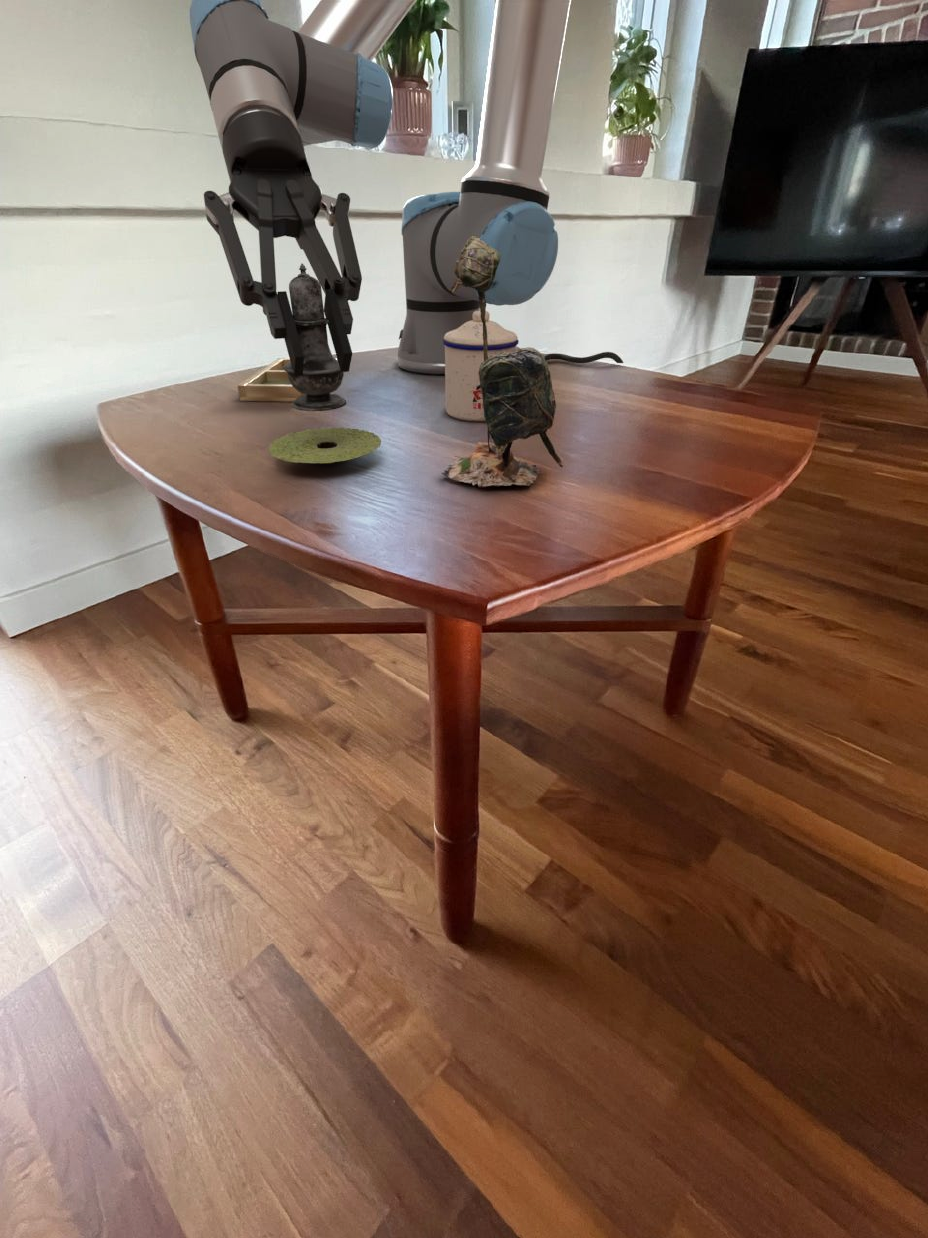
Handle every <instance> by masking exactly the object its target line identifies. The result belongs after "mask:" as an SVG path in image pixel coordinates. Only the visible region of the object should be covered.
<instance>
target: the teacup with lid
mask: <svg viewBox="0 0 928 1238" xmlns="http://www.w3.org/2000/svg"><path fill="white" fill-rule="evenodd" d="M490 316H491V315H490V312H489V311H488V310H486V313H485V320H486V327H487V341H488V347H487V348H488V350H487V354H488V358H489V357H490V356H491V355H492V356H495V355H497V354H499V353H501V352H508V351H510V350H516V349H521V347H519V346H517V345H519V341H520V340H519V339H518V338H519V337H518V335H517V334H516V333H515V332H514V331H511V330H508V329H506V328H504V327H503V326H502V325H500V324H499V323H498V322H497V321H494V320H490ZM443 344H444V345H445V374H444V377H445V378H444V381H445V411H446V414H447V415H449V416H450V417H451V418H455V419H456V420H461V421H467V422H485V418H484V409H483V398H482V391H481V385H480V380H479V374H478V373H479V368H480V366H481V363H483V362H484V353H483V323H482V320H481V312H480V311H475V312H474V313H473V320H472V321H468V322H466V323H464V324H463V325H461V326H460V327H459V328H457V329H455V330H453V331H449V332H447V333H446V334H445V336H444V340H443Z"/></svg>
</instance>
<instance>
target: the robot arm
mask: <svg viewBox="0 0 928 1238" xmlns="http://www.w3.org/2000/svg"><path fill="white" fill-rule="evenodd" d="M417 1H418V0H319V2H318V3H317V5H316V6H315V8H314V9H313V10H312V11H311V13H310V14H309V16H308V17H307V19H306V20H304V23H303V24H302V25H301V27H300V28H299V30H298V31H295V30H293V29H291V28H290V27H288V26H285V25H282V24H280V23H277V22H274V21H272V20H269V16H268V13H267V10H266V9H264V7H263V4H262V2H261V1H260V0H191V3H190V7H189V24H190V29H191V31H190V32H191V37H192V43H193V51H194V56H195V59H196V62H197V64H198V67H199V68H200V69H199V70H200V72H201V75H202V79H203V83H204V86H205V89H206V94H207V97H208V100H209V105H210V108H211V112H212V116H213V120H214V123H215V124H214V125H215V127H216V132H217V135H218V140H219V144H220V147H221V150H222V154H223V159H224V163H225V166H226V167H225V168H226V170H227V174H228V178H229V185H228V191H227V192H225V193H223V194H220V195H218V193H216V192H215V191H213V190H206V191H205V192H204V193H203V200H204V208H205V216H206V217H205V218H206V221H207V222H208V224H209V225H210V226H211V227H212V228H213V230H214V231H215V232H216V233H217V235H218V236H219V240H220V243H221V245H222V248H223V252H224V255H225V258H226V261H227V264H228V266H229V269H230V273H231V276H232V279H233V282H234V286H235V289H236V291H237V294H238V297H239V299H240V302H241V303H242V304H243V305H244V306H246V307H251V306H253V305H257V306H260V307H261V308H262V313H263V314H264V315H265V316H266V320H267V324H268V327H269V332H270V334H271V336H272V337H273V338H274V340H278V339H279V340H280V339H284V342H285V346H286V350H287V354H288V358H290V362H291V365H292V369H293V373H294V376H302V375H303V365H304V355H303V351H302V348H301V344H300V340H299V337H298V333H297V329H296V326H295V322H294V318H293V314H292V307H291V303H290V300H289V297H288V293H287V291H285V290H283V291H278V290H277V274H276V256H275V240H274V239H277V238H282V237H289V238H294V239H295V241H296V243H297V245H298V247H299V249H300V251H301V250H302V251H303V252H304V255H305V257H306V258H307V261H308V262H309V265H310V267H311V269H312V271H313V273H314V275H315V277H316V280H318V282H319V283H320V285H321V290H322V291H323V293H324V302H323V309H324V318H326V319H328V320H329V323H328V324H327V327H328V328H327V329H328V332H329V334H330V337H331V342H332V346H333V349H334V352H335V357H336V359H338V363H339V367H340V370H341V372H343V373H346V372H348V373H349V372H350V368H351V362H352V358H353V350H352V346H351V343H350V340H349V336H348V335H352V329H353V324H354V317H353V314H352V310H351V307H350V305H349V304H350V303H349V301H351V302H357V301H358V300H359V298H360V292H361V287H362V281H363V275H362V272H361V268H360V264H359V262H360V261H359V258H358V254H357V249H356V245H355V240H354V237H353V232H352V228H351V223H350V219H349V213H350V204H351V197H350V195H348V194H347V193H345V192H339V193H338V194H337V196H336V197H333V196H330V195H327V194H324V193H323V191H322V189H321V186H320V185H319V184H318V183H317V182H316V181H315V180H314V178H313V174H312V170H311V168H310V163H309V160H308V157H307V153H306V150H305V146H310V145H318V144H324V143H329V142H335V141H338V142H343V143H346V144H349V145H350V146H351V147H354V148H355V147H361V148H365V149H370V150H371V149H376V148H377V147H379V146H380V145H381V144H382V143H383V141H384V140H385V138H386V136H387V134H388V132H389V129H390V125H391V121H392V117H393V104H394V93H393V92H394V91H393V85H392V81H391V79H390V75H389V74H388V71H387V70H386V69H385V68H384V67H383V66H382V65H381V64H378V63H377V62H374V59H375V57H376V56H377V55H378V53H379V52H380V51H381V49H383V47H384V46H385V44H386V42H387V41H388V40H389V38H390V37H391V36H392V34H393V33H394V32H395V31H396V29H397V28H398V27H399V25H400V24H401V23H402V21H403V19H404V18H405V17H406V16H407V14H408V13H409V12H410V10H411V9H412V8H413V6H414V5H415V3H416V2H417ZM571 2H572V0H496V1H495V8H494V15H493V16H494V17H493V23H492V32H491V39H490V40H491V41H490V48H489V56H488V65H487V72H486V81H485V88H484V96H483V103H482V111H481V120H480V127H479V134H478V143H477V151H476V159H475V164H474V167H473V168H472V169H471V170H470V171H469V172H468V173H467V174H466V175H465V176H463V177H462V179H461V185H460V191H445V192H444V191H443V192H436V193H429V194H423V195H422V194H421V195H419V196H415V197H412V198H410V199H408V200H407V201H406V202H405V203H404V205H403V208H402V215H401V217H402V218H401V229H400V230H401V236H402V248H403V250H402V251H403V267H404V286H405V304H406V305H405V306H406V307H405V308H406V315H405V320H404V324H403V328H402V329H401V330H400V331H399V336H398V340H399V345H398V349H397V366H398V367H399V368H401V369H402V370H403V371H404V370H405V371H407V372H411V373H417V374H425V375H445V345H444V344H443V340H444V336H445V334H446V333H447V332H449V331H453V330H455V329H457V328H459V327H460V326H461V325H463V324H464V323H466V322H468V321H472V320H473V313H474V312H475V311H480V306H479V295H478V291H477V290H476V289H474V288H471V287H465V286H464V285H460V286H458V288H457V290H456V291H455V292H451V291H450V289H451V287H452V286H453V285H454V282H455V280H456V274H455V269H454V267H456V261H457V260H458V258H460V256H461V252H462V250H463V248H464V245H465V244H466V243H467V240H468V239H469V238H471V237H472V236H477V237H479V239H480V240H482V241H483V242H484V243H485V244H487V245H490V246H491V247H492V248H493V249H494V250H497V252H498V253H499V255H500V262H499V265H498V268H497V270H496V274H495V278H494V280H493V282H492V285H491V287H490V289H489V290H488V291H485V300H486V305H487V304H488V305H492V306H496V307H497V306H515V305H516V306H517V305H522V304H524V303H526V302H528V301H530V300H531V299H533V297H535V295H536V294H538V293H539V292H540V291H541V290H543V288H544V287H545V285H546V284H547V282H548V281H549V279H550V277H551V275H552V273H553V271H554V269H555V265H556V263H557V257H558V253H559V251H558V250H559V235H558V231H557V230H555V226H556V223H555V221H554V219H553V217H552V215H551V214H550V212H549V211H548V207H549V202H550V194H551V193H550V191H549V189H548V187H547V186H546V184H545V183H544V181H543V178H542V177H543V176H542V174H543V173H542V172H543V169H544V168H543V167H544V163H545V156H546V150H547V143H548V139H549V132H550V128H551V127H550V126H551V120H552V115H553V108H554V102H555V95H556V90H557V85H558V79H559V73H560V67H561V60H562V55H563V49H564V43H565V37H566V31H567V25H568V19H569V14H570V7H571ZM320 211H322V213H324V215H325V219H326V221H327V223H328V226H329V227H331V228H332V238H333V242H334V243H333V244H334V248H335V251H336V256H337V261H338V265H339V269H340V271H339V269H338V267H337V265H336V263H335V261H334V259H333V257H332V255H331V253H330V251H329V249H328V246H327V245H326V243H325V241H324V239H323V238H322V237H323V236H322V235H321V233H320V231H319V229H318V227H317V225H316V224H317V223H316V218H317V216H318V215H319V213H320ZM235 212H237V213H238V214H239V215H240V216H241V217H242V218H243V219H244V220H245V221H247V222H248V223H249V224H250V225H251V226H252V227H253V228H255V229H256V231H258V244H259V247H258V248H259V261H260V263H259V264H260V277H261V278H260V281H257V280H254V278H253V274H252V271H251V268H250V265H249V263H248V260H247V256H246V255H245V250H244V248H243V245H242V241H241V238H240V236H239V233H238V230H237V226H236V225H235ZM543 355H544V357H545V361H546V362H547V361H549V360H560V361H565V362H568V363H572V364H589V363H593V362H597V361H598V360H602V359H611V360H612V361H614V362H615V363H616V364H624V361H623V359H622V357H620V355H618V354H617V353H615V352H612V351H602V352H599V353H596V354H592V355H588V356H582V357H581V356H579V357H578V356H573V355H570V354H569V355H568V354H565V353H556V352H555V353H547V354H543Z"/></svg>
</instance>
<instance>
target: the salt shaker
mask: <svg viewBox="0 0 928 1238" xmlns="http://www.w3.org/2000/svg"><path fill="white" fill-rule="evenodd" d="M298 270H299V271H300V273H299V274H298V275H297V276H295V277H293V278H292V279H291V280H290V282H289V283H288V293H289V299H290V307H291V311H292V315H293V318H294V322H295V326H296V329H297V333H298V337H299V340H300V344H301V348H302V351H303V355H304V365H303V375H302V376H294V373H293V369H292V365H291V362H289V363H287V364H285V365H284V366H283V369H284V370H285V371H286V372H287V374H288V379H289V380H290V382H291V384H292V386H293V387H294V388H295V389H296V390H297V391H298V392H300V393H303V394H307V395H303V396H300V397H298V398H297V399H296V400H295V401H293V402H292V401H291V407H292V408H293V409H296V410H299V411H303V412H328V411H333V410H338V409H341V408H343V407H345V406H346V405H347V400H346V398H344V397H342V396H341V395H339V394H336V393H334V392H337V390H338V389H339V388H340V386H342V382H343V379H344V375H345V374H344V372H341V370H340V367H339V363H338V360H336V359H337V358H335V357H334V356H333V354H332V351H331V348H330V345H329V339H328V330H327V329H328V328H327V326H328V323H329V320H328V319H326V317H325V313H324V302H323V301H324V300H323V292H322V291H323V289H322V287H321V285H320V283H319V281H318V279H317V278H315V277H313V276H311V275H310V274H309V273H307V272H306V271H307V270H308V268H307V267H306V266H305V265H304V263H300V265H299V268H298Z"/></svg>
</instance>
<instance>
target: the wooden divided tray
mask: <svg viewBox="0 0 928 1238" xmlns="http://www.w3.org/2000/svg"><path fill="white" fill-rule="evenodd" d="M335 359H336V360H338V359H337V358H335ZM289 362H290V358H289V357H288V358H287V357H285V358H284V357H279V358H276V359H275V360H273V361H272V362H271V363H269V364H268V365H267V366H265V367H263V368H262V369H260V370H259V371H257V372H255V373H254V374H252V375H251V376H250V377H248V378H247V379H245V380H243V381H242V382H241V383H239V384H237V391H238V396H239V400H240V401H241V402H291V403H292V402H293V401H295V400H296V399H297V398H298V397H300V396H303V395H307V394H303V393H300V392H298V391H297V390H296V389H295V388H294V387H293V386H292V384H291V382H290V380H289V379H288V374H287V372H286V371H285V370H284V369H283V366H284V365H285V364H287V363H289Z"/></svg>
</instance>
